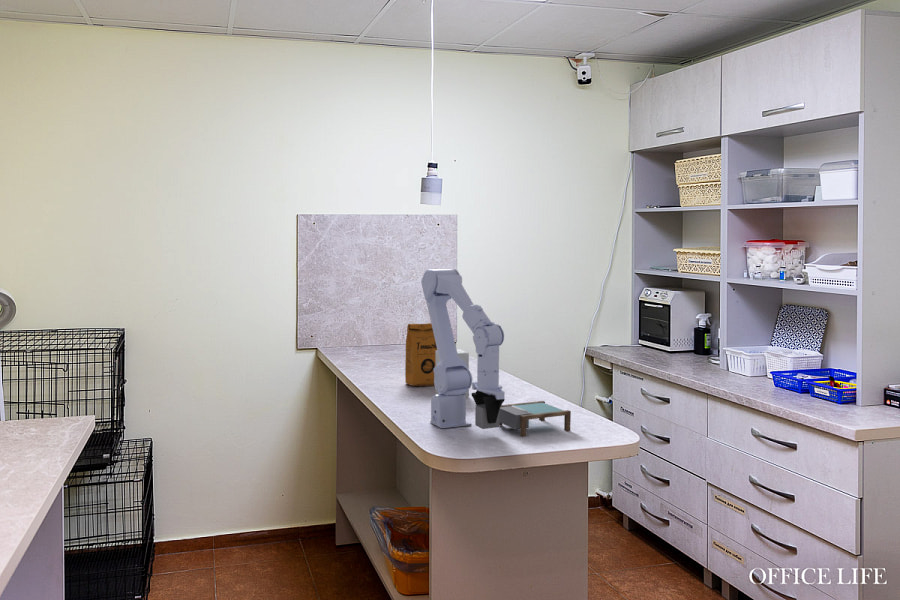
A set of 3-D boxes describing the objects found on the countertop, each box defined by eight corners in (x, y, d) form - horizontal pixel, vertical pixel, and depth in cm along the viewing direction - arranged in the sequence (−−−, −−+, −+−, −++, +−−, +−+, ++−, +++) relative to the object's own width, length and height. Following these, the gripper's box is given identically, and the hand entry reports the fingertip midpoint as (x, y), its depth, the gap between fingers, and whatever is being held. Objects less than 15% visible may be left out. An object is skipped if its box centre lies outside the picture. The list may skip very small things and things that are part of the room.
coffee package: (444, 386, 277) (444, 324, 275) (409, 388, 273) (409, 325, 271) (436, 381, 286) (436, 320, 284) (403, 383, 283) (403, 321, 281)
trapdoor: (516, 430, 211) (517, 415, 211) (496, 421, 221) (497, 407, 221) (564, 424, 218) (564, 410, 218) (542, 415, 228) (542, 402, 227)
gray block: (482, 429, 209) (483, 408, 208) (475, 425, 212) (475, 405, 212) (499, 427, 211) (499, 406, 210) (491, 423, 215) (491, 403, 214)
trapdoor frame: (522, 436, 211) (522, 416, 210) (496, 424, 223) (496, 405, 223) (570, 430, 217) (570, 411, 217) (542, 419, 230) (542, 400, 229)
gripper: (515, 374, 205) (514, 425, 207) (488, 365, 218) (487, 413, 220) (491, 376, 202) (490, 428, 204) (465, 366, 215) (465, 415, 217)
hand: (487, 420), depth 211 cm, fingers closed on gray block, 4 cm apart
